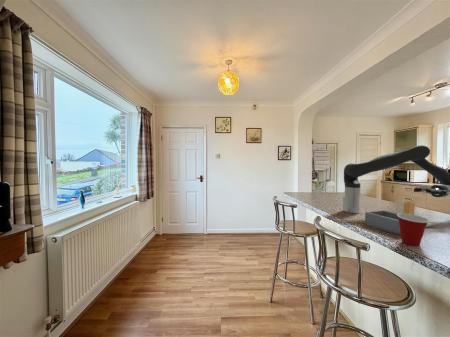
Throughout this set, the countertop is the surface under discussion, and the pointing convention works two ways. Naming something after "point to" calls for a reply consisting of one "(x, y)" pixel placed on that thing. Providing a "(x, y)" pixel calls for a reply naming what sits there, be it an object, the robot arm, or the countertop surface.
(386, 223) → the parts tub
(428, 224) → the lid
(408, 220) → the plastic cup
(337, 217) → the countertop surface
